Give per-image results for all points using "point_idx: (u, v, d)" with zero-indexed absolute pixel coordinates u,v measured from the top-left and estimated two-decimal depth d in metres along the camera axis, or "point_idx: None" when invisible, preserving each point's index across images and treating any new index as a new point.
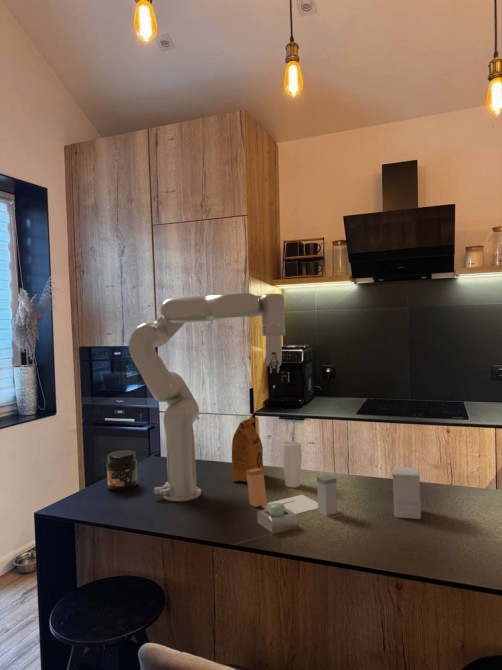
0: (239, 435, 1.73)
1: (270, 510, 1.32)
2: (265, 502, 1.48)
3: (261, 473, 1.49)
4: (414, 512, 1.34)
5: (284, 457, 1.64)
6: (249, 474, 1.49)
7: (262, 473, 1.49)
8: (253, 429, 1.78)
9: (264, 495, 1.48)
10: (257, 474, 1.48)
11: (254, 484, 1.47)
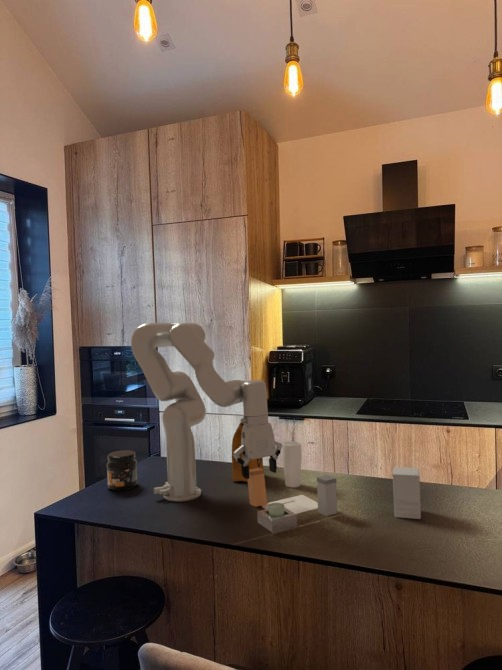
0: (239, 435, 1.73)
1: (270, 510, 1.32)
2: (265, 502, 1.48)
3: (262, 473, 1.49)
4: (414, 512, 1.34)
5: (284, 457, 1.64)
6: (250, 474, 1.49)
7: (263, 473, 1.49)
8: None
9: (264, 495, 1.48)
10: (258, 474, 1.48)
11: (254, 484, 1.47)
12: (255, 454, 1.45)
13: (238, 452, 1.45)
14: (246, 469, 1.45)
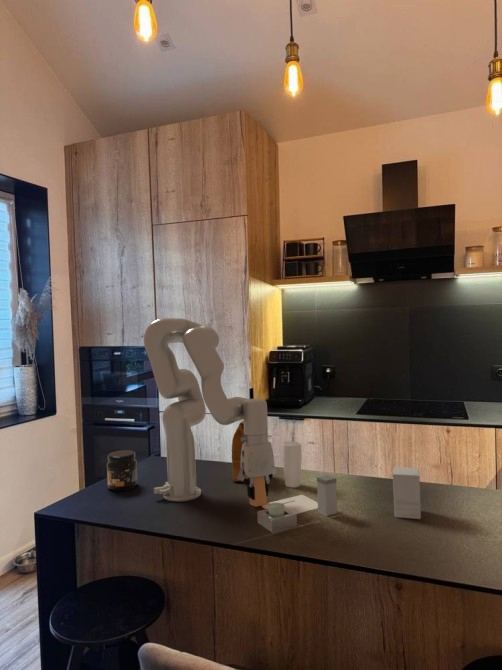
0: (239, 435, 1.73)
1: (270, 510, 1.32)
2: (265, 502, 1.48)
3: None
4: (414, 512, 1.34)
5: (284, 457, 1.64)
6: None
7: None
8: None
9: (264, 495, 1.48)
10: None
11: (254, 484, 1.47)
12: (254, 473, 1.45)
13: (241, 475, 1.46)
14: (252, 490, 1.47)
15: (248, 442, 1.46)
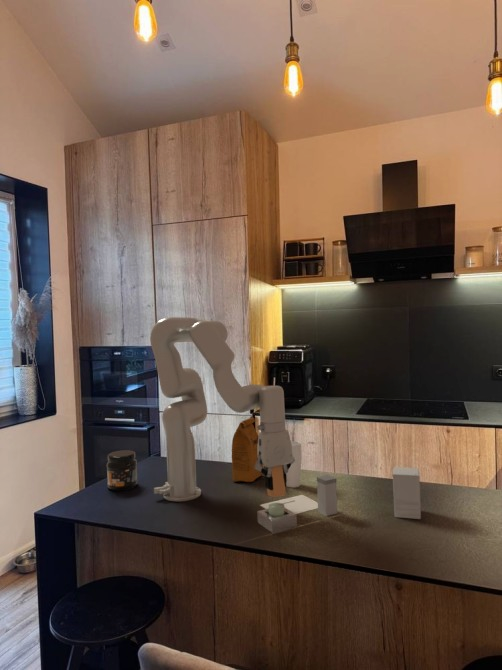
0: (239, 435, 1.73)
1: (270, 510, 1.32)
2: (284, 493, 1.42)
3: None
4: (414, 512, 1.34)
5: None
6: None
7: None
8: (253, 429, 1.78)
9: (283, 485, 1.43)
10: None
11: (272, 474, 1.42)
12: (272, 462, 1.40)
13: (259, 464, 1.40)
14: (270, 480, 1.41)
15: (265, 430, 1.40)
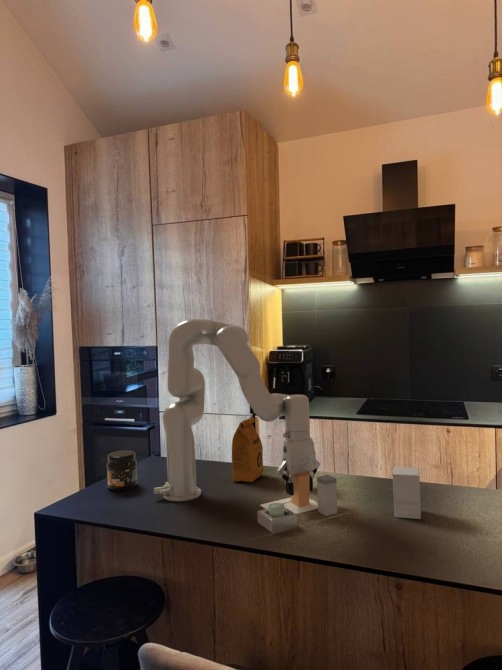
0: (239, 435, 1.73)
1: (270, 510, 1.32)
2: (307, 502, 1.47)
3: (307, 474, 1.46)
4: (414, 512, 1.34)
5: None
6: (295, 474, 1.46)
7: (308, 474, 1.46)
8: (253, 429, 1.78)
9: (307, 496, 1.47)
10: (303, 475, 1.45)
11: (299, 485, 1.45)
12: (297, 469, 1.44)
13: (282, 469, 1.44)
14: (291, 486, 1.45)
15: (290, 438, 1.45)
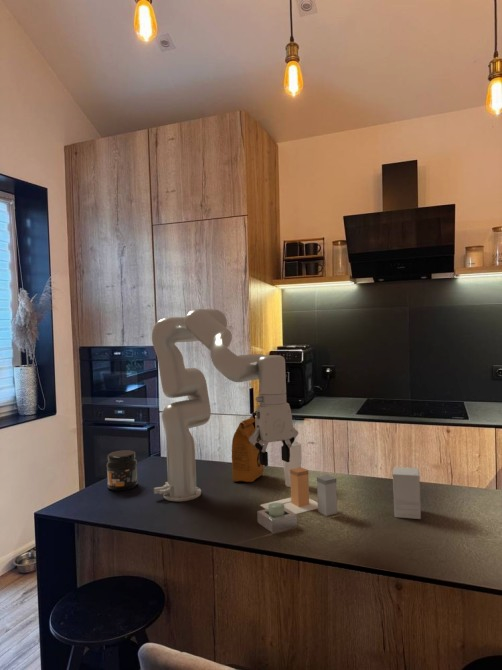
0: (239, 435, 1.73)
1: (270, 510, 1.32)
2: (307, 502, 1.47)
3: (306, 474, 1.47)
4: (414, 512, 1.34)
5: None
6: (294, 474, 1.47)
7: (307, 474, 1.47)
8: (253, 429, 1.78)
9: (307, 495, 1.47)
10: (302, 475, 1.46)
11: (298, 485, 1.45)
12: (271, 437, 1.30)
13: (254, 437, 1.30)
14: (265, 455, 1.30)
15: (264, 402, 1.30)
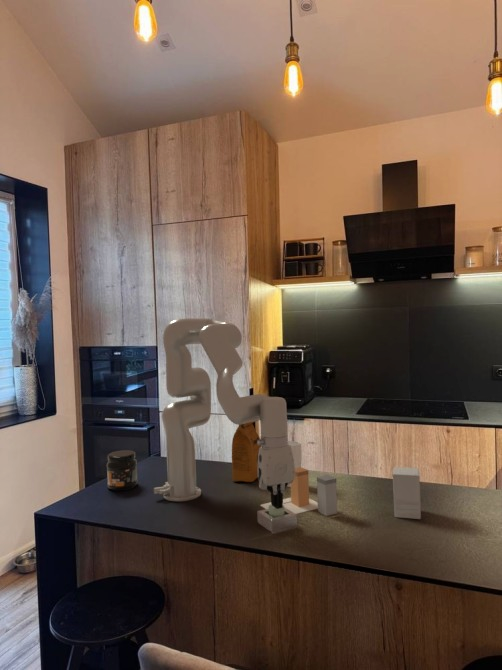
0: (239, 435, 1.73)
1: (270, 511, 1.32)
2: (307, 502, 1.47)
3: (306, 474, 1.47)
4: (414, 512, 1.34)
5: None
6: None
7: (307, 474, 1.47)
8: (253, 429, 1.78)
9: (307, 495, 1.47)
10: (302, 475, 1.46)
11: (298, 485, 1.45)
12: (273, 480, 1.30)
13: (263, 483, 1.31)
14: (276, 498, 1.32)
15: (266, 445, 1.30)
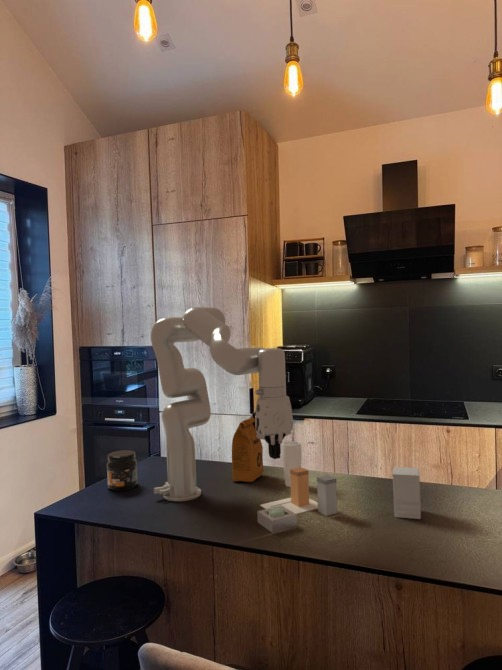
0: (239, 435, 1.73)
1: (270, 515, 1.32)
2: (307, 502, 1.47)
3: (306, 474, 1.47)
4: (414, 512, 1.34)
5: (284, 457, 1.64)
6: (294, 474, 1.47)
7: (307, 474, 1.47)
8: (253, 429, 1.78)
9: (307, 495, 1.47)
10: (302, 475, 1.46)
11: (298, 485, 1.45)
12: (271, 430, 1.29)
13: (261, 433, 1.30)
14: (274, 448, 1.32)
15: (264, 395, 1.30)
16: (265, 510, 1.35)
